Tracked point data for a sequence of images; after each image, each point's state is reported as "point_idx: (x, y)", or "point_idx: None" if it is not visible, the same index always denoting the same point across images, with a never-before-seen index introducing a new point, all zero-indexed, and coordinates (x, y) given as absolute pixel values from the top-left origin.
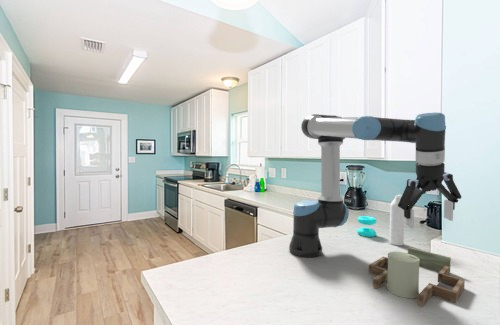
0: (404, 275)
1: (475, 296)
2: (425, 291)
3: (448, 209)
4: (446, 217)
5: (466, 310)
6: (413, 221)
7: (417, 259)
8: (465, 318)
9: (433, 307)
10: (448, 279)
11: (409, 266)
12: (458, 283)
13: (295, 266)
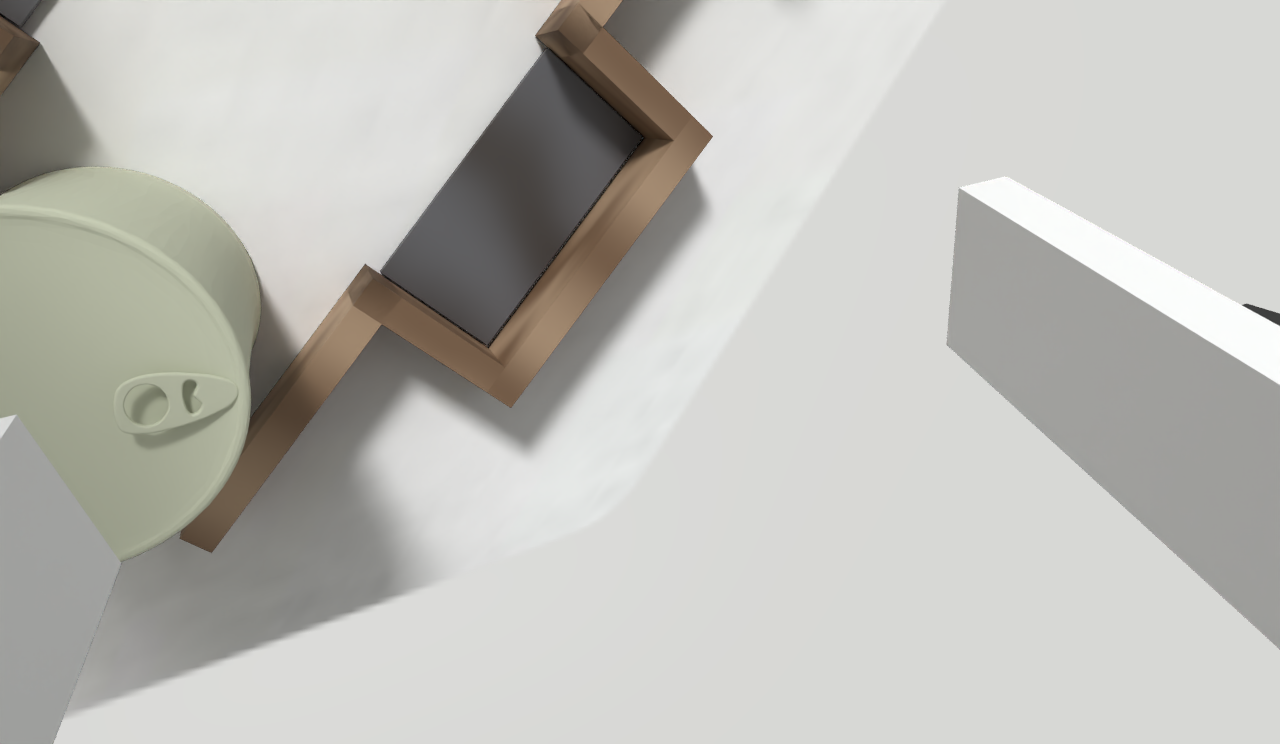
0: None
1: (683, 247)
2: (271, 454)
3: (1122, 427)
4: (969, 266)
5: (513, 461)
6: (52, 716)
7: (218, 439)
8: (454, 558)
9: (300, 496)
10: (609, 88)
11: None
12: (624, 223)
13: None
